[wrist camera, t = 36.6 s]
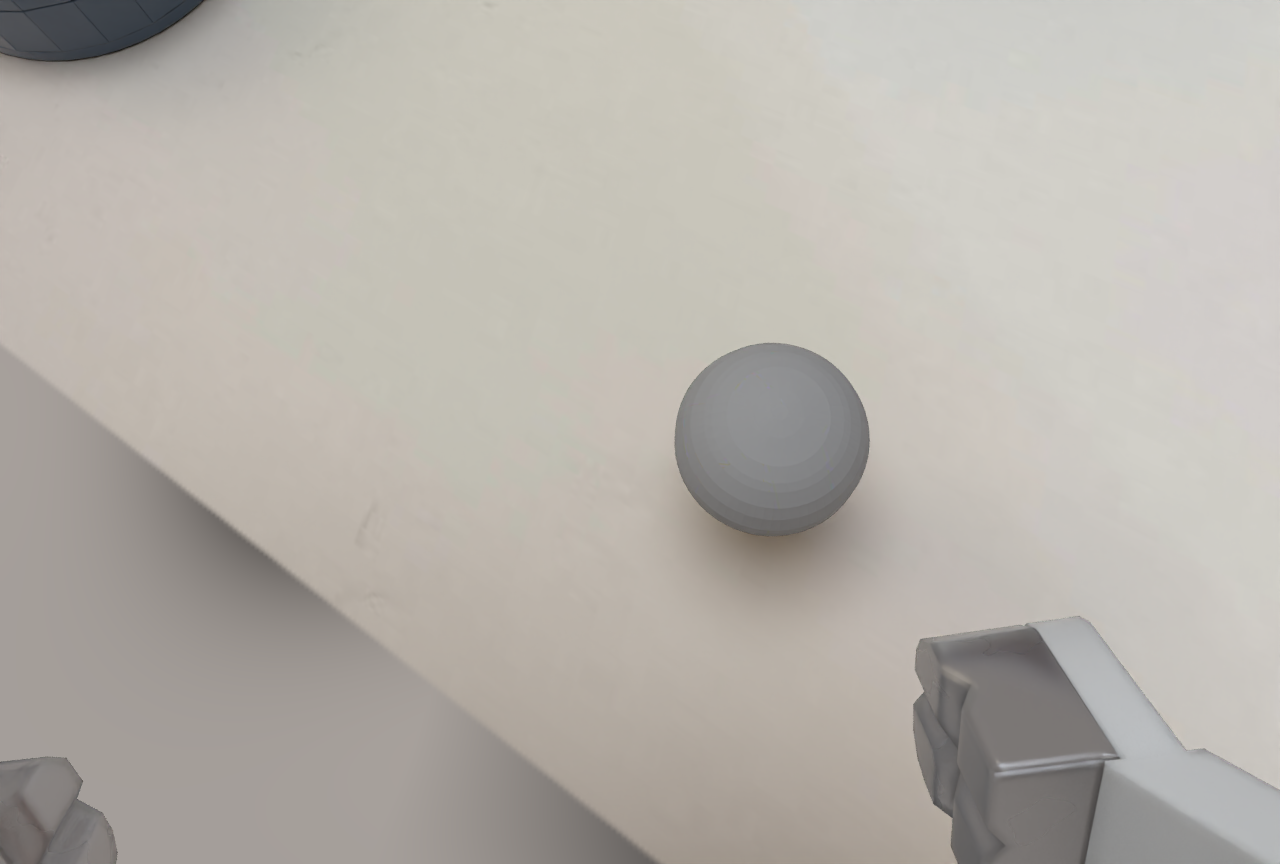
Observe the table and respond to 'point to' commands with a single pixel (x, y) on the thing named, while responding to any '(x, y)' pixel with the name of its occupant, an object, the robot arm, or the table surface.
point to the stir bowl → (82, 25)
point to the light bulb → (771, 439)
